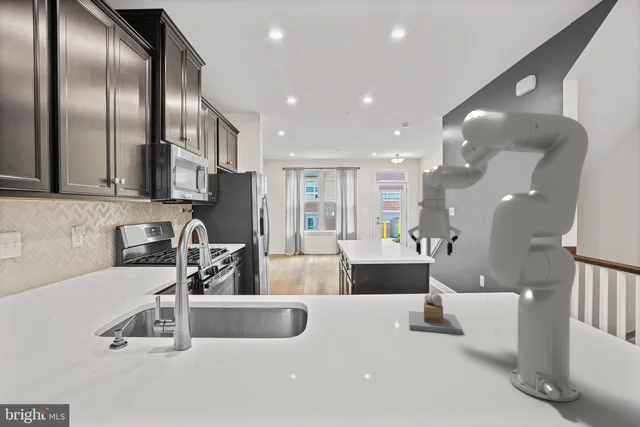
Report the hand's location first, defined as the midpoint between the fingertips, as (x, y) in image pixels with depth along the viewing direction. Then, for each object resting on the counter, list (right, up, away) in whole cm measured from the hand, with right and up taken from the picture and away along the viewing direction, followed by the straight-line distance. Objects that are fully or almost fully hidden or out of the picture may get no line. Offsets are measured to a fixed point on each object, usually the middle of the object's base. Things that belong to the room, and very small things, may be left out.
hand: (434, 254), depth 115 cm
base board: (0, -24, 0) cm, 24 cm away
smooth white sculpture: (0, -18, +1) cm, 18 cm away
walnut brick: (0, -22, 0) cm, 22 cm away
